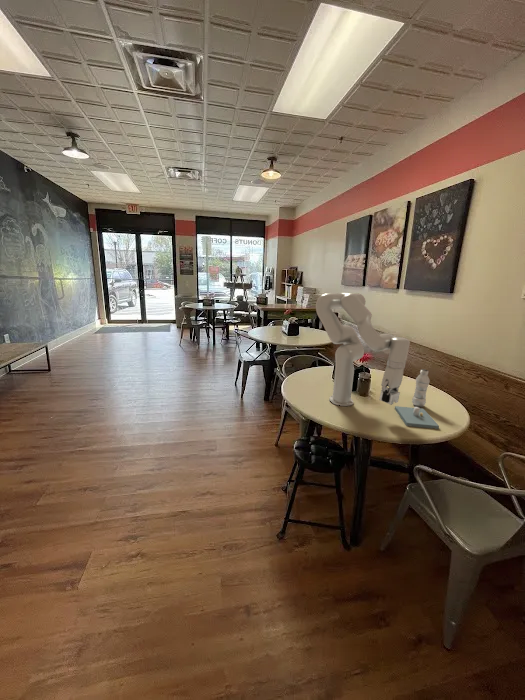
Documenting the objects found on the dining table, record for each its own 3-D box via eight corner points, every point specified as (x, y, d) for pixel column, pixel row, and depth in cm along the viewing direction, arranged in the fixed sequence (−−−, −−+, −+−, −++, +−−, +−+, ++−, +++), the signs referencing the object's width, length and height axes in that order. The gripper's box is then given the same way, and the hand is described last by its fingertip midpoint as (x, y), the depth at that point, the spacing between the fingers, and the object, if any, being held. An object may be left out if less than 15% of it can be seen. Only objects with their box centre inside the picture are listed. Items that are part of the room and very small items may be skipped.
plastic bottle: (412, 407, 155) (418, 371, 150) (410, 402, 161) (416, 367, 156) (425, 409, 152) (432, 373, 147) (423, 404, 159) (430, 369, 154)
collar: (386, 397, 142) (388, 387, 141) (397, 401, 138) (400, 392, 136) (379, 399, 139) (381, 390, 137) (391, 404, 134) (393, 394, 133)
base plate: (394, 408, 152) (396, 399, 150) (423, 411, 150) (425, 401, 148) (406, 425, 134) (408, 414, 133) (438, 429, 133) (440, 418, 131)
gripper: (398, 359, 141) (391, 393, 146) (378, 364, 131) (371, 400, 136) (413, 363, 135) (405, 399, 140) (393, 369, 125) (386, 407, 130)
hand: (388, 399), depth 138 cm, fingers closed on collar, 6 cm apart
